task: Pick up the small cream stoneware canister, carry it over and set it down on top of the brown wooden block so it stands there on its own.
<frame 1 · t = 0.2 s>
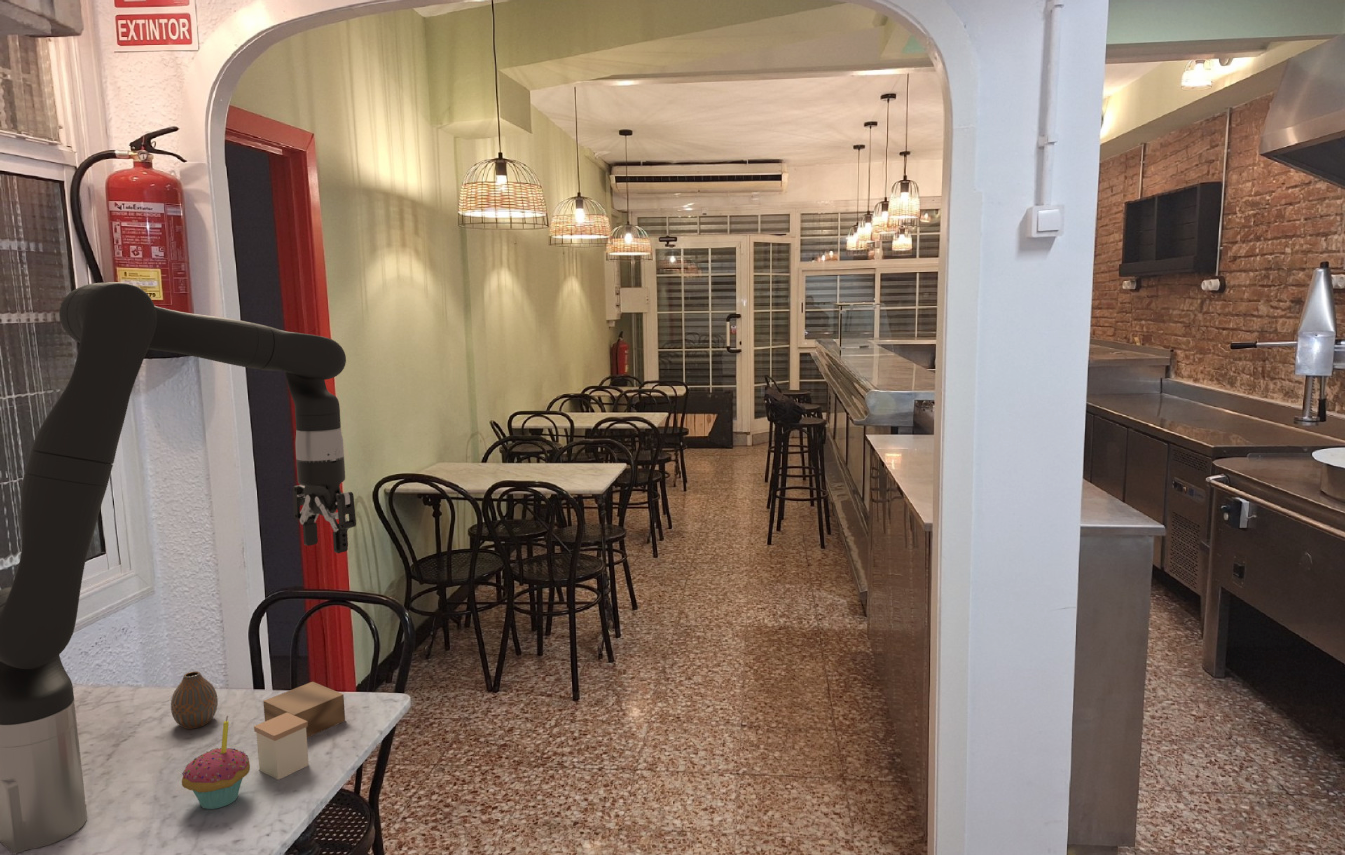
hand: (325, 548, 148), 29 cm above the table, fingers open, 8 cm apart
cupcake: (219, 801, 123), on the table
brown wooden block: (305, 725, 145), on the table
vase: (196, 724, 146), on the table
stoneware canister: (284, 767, 131), on the table
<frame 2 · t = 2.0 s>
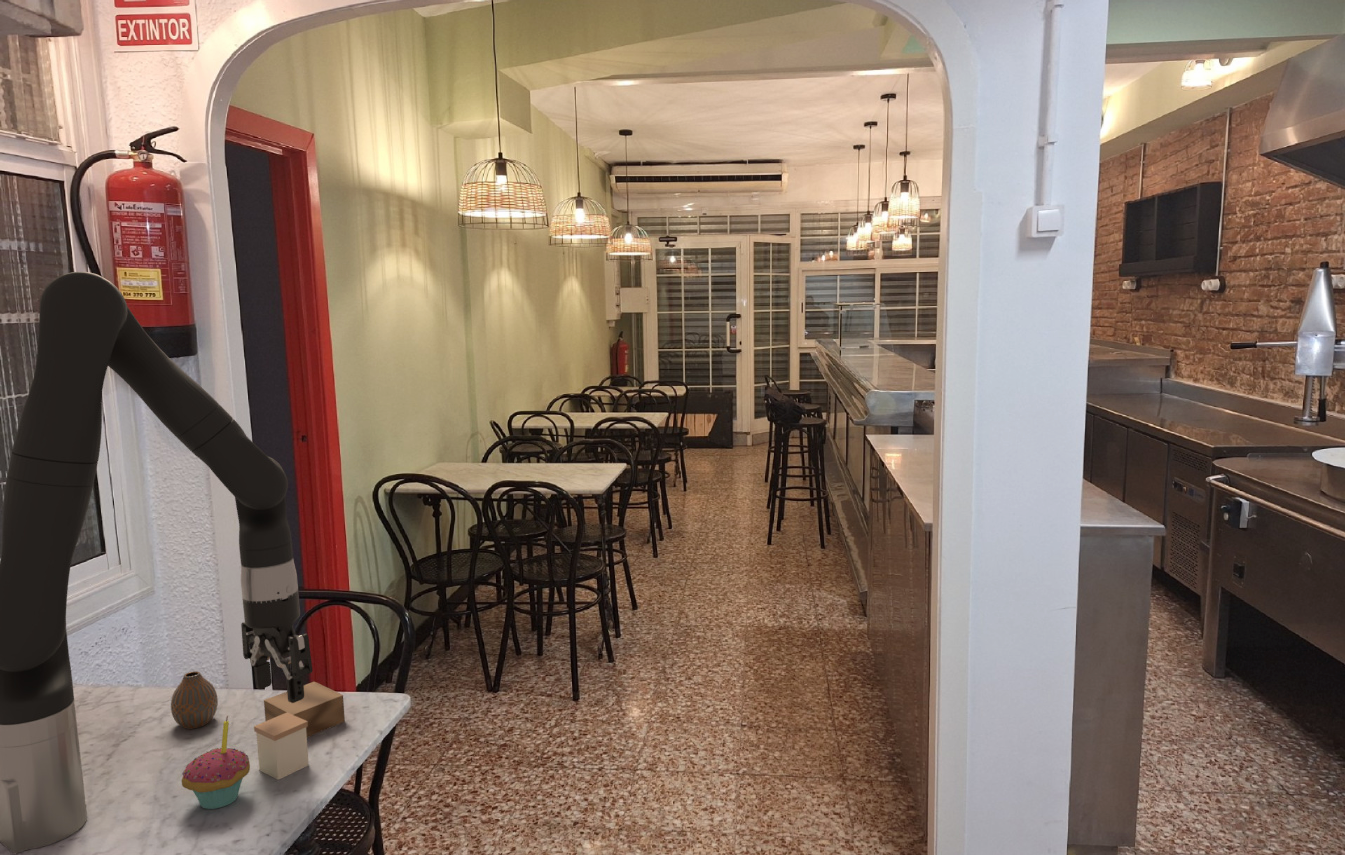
hand: (280, 693, 130), 12 cm above the table, fingers open, 8 cm apart
nothing on the table moved.
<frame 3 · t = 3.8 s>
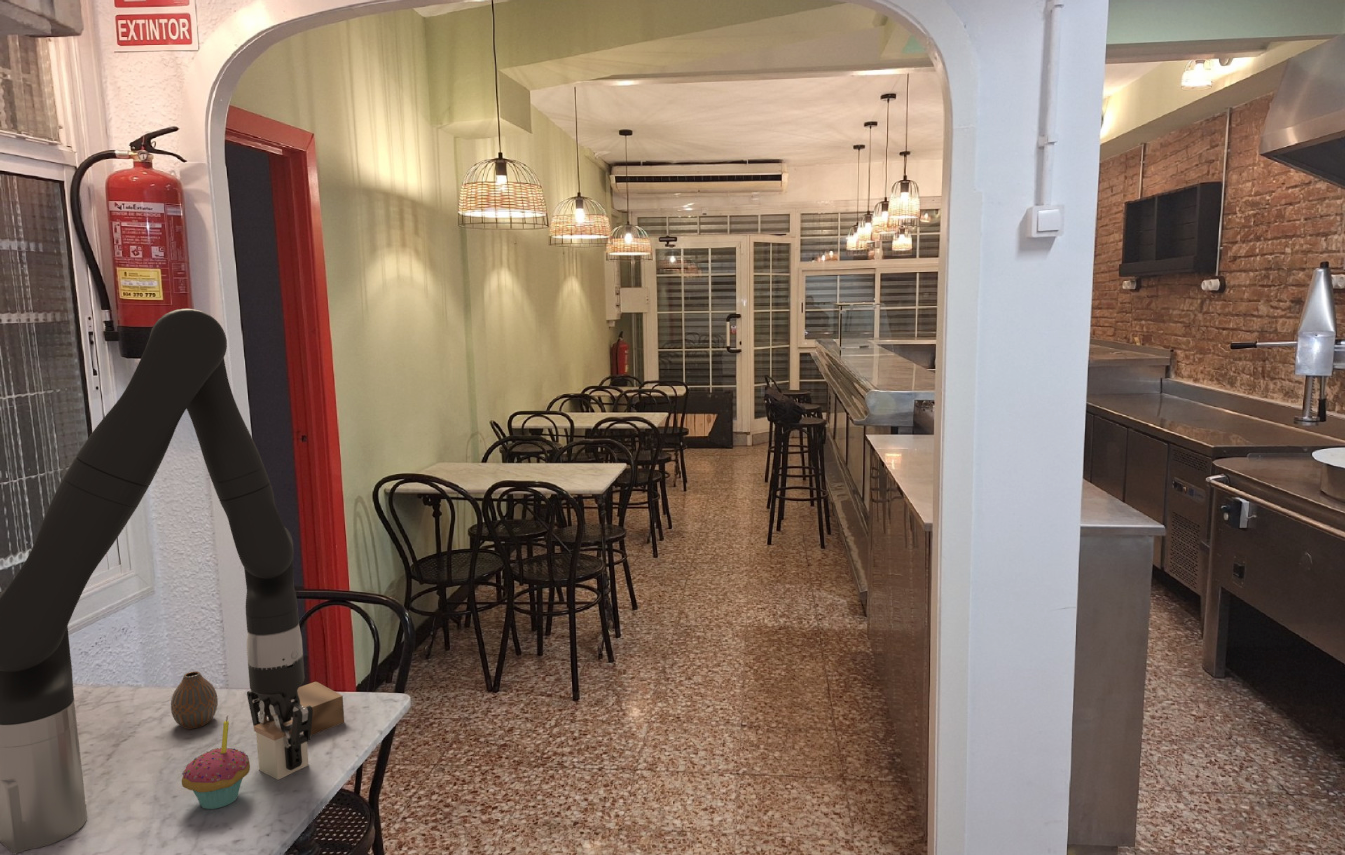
hand: (283, 761, 131), 1 cm above the table, fingers closed on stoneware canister, 5 cm apart
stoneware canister: (284, 767, 131), on the table, touching gripper
everything else where it was.
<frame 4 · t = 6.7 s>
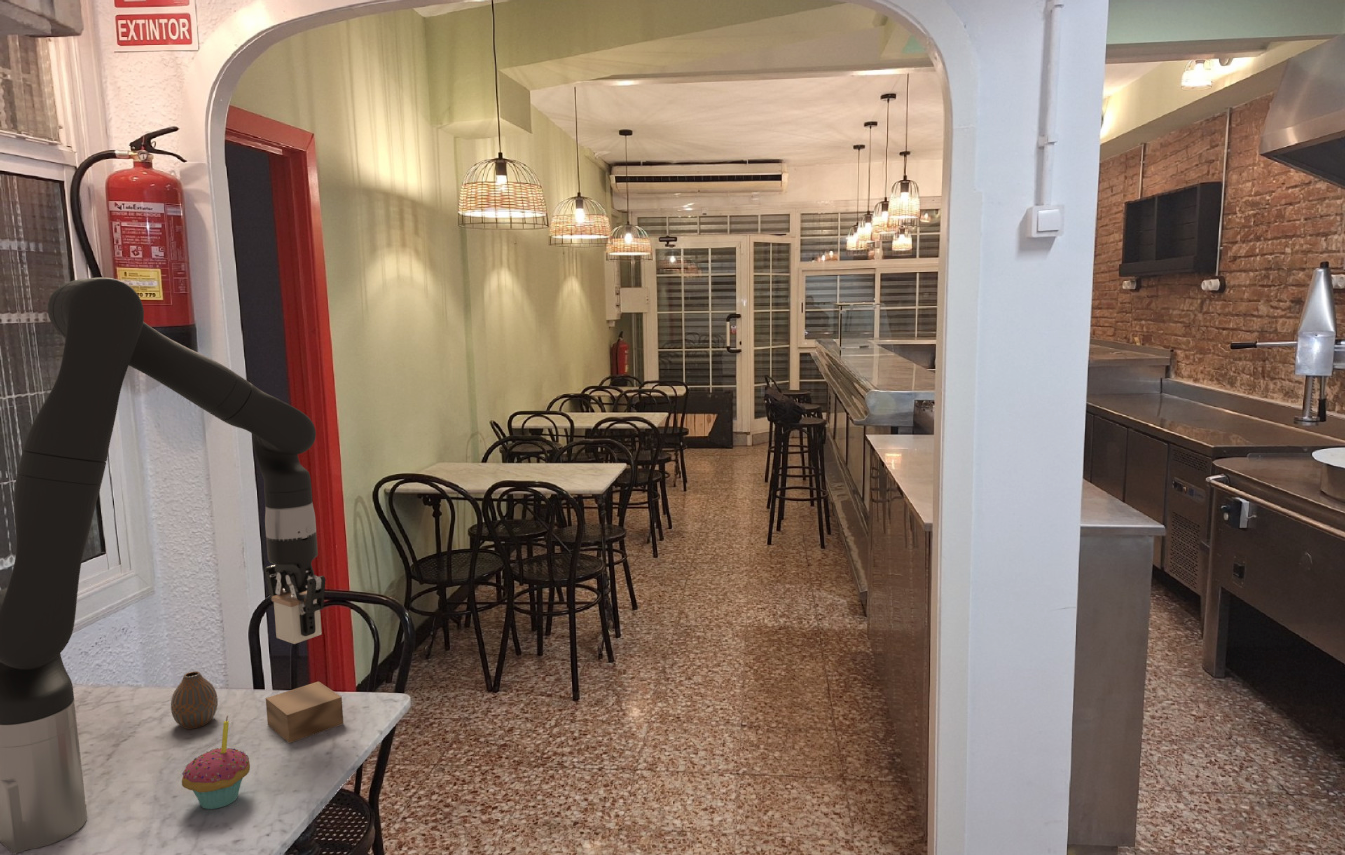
hand: (298, 630, 143), 16 cm above the table, fingers closed on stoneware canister, 5 cm apart
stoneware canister: (299, 636, 143), point 15 cm above the table, touching gripper
everything else where it was.
when the fingers open (6 cm above the table, at t = 9.7 s): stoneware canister stays where it is, resting on brown wooden block.
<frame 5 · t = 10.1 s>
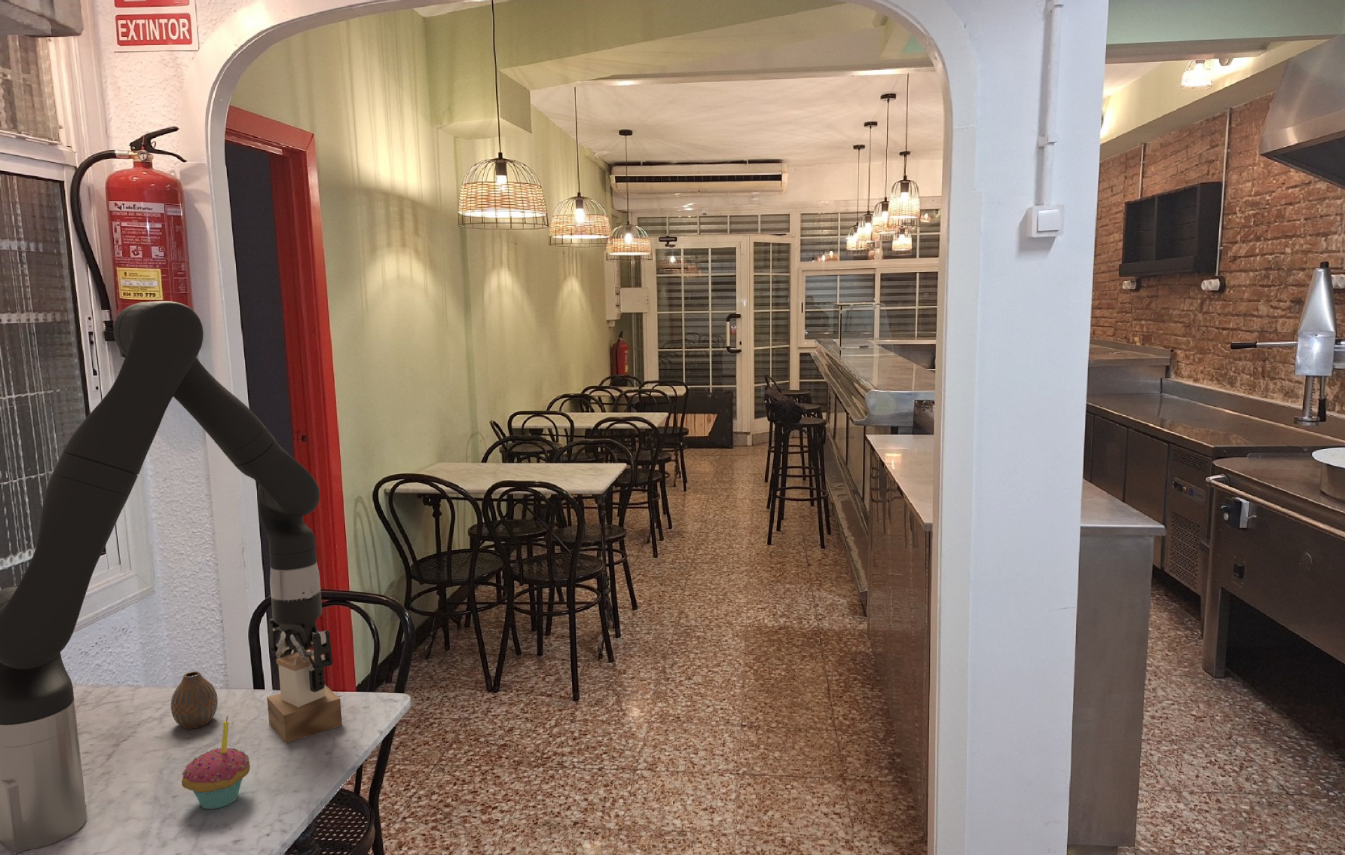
hand: (302, 684, 144), 7 cm above the table, fingers open, 8 cm apart
brown wooden block: (305, 726, 145), on the table, touching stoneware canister
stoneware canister: (303, 697, 144), point 5 cm above the table, touching brown wooden block
everything else where it was.
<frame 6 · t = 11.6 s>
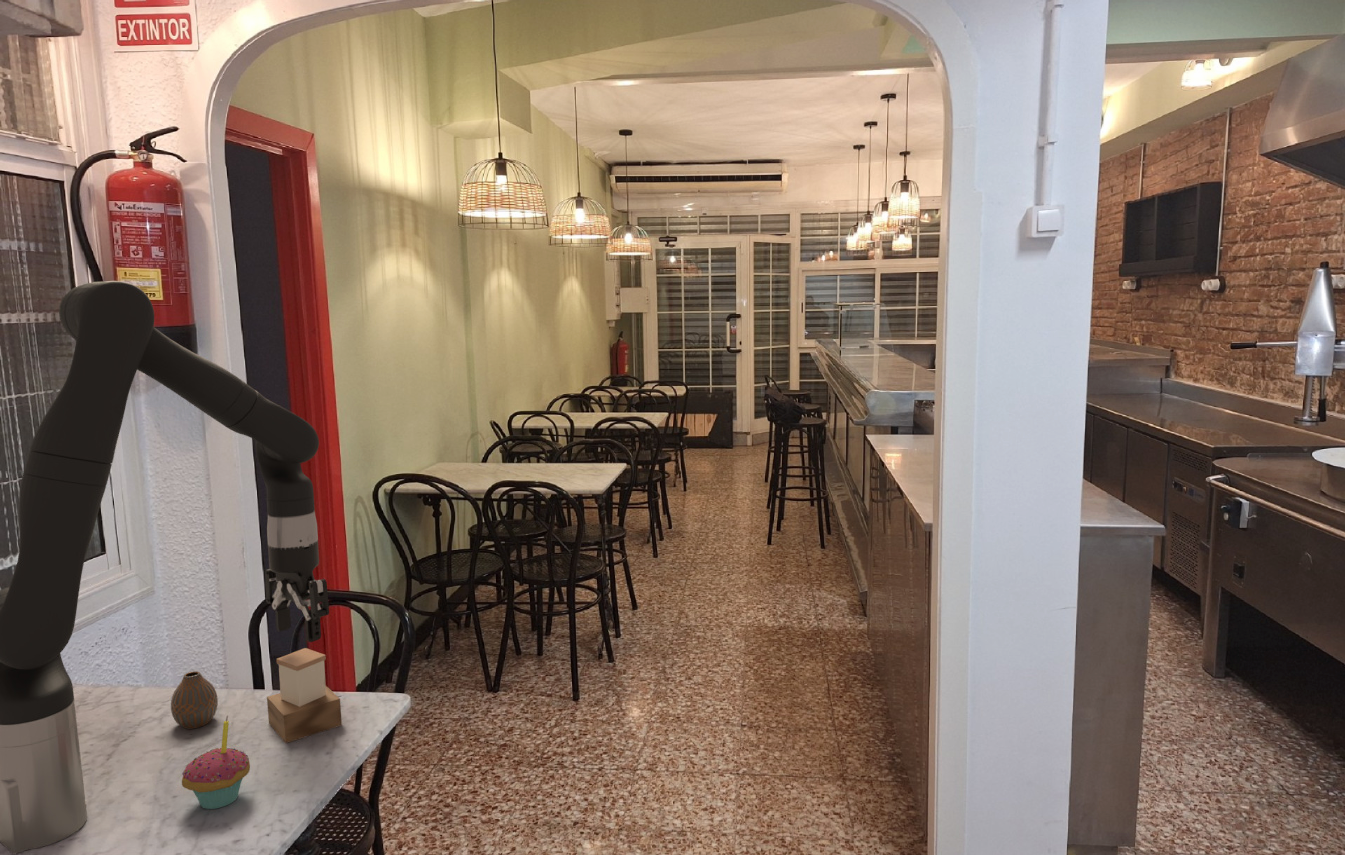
hand: (298, 635, 143), 16 cm above the table, fingers open, 8 cm apart
nothing on the table moved.
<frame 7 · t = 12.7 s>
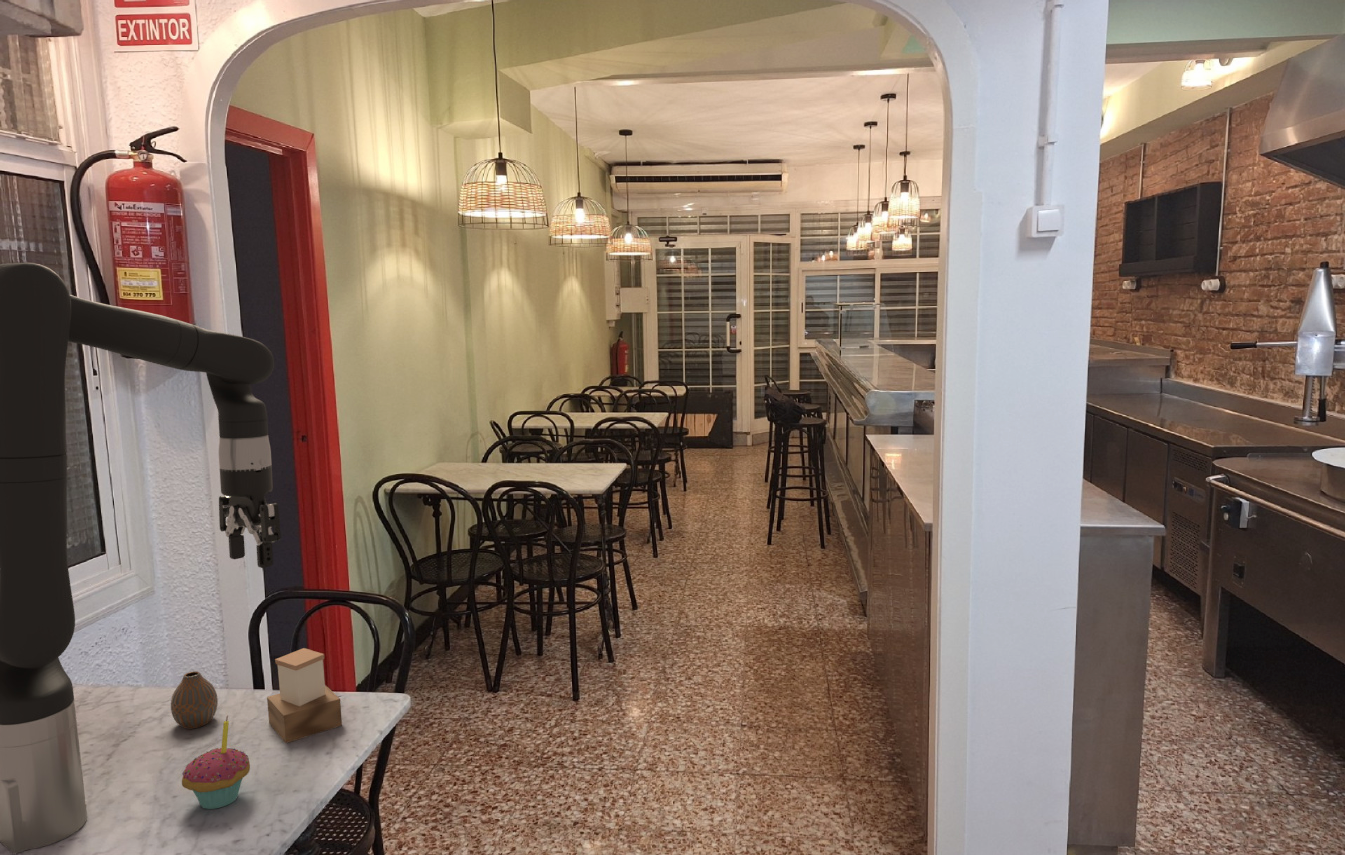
hand: (251, 562, 140), 28 cm above the table, fingers open, 8 cm apart
nothing on the table moved.
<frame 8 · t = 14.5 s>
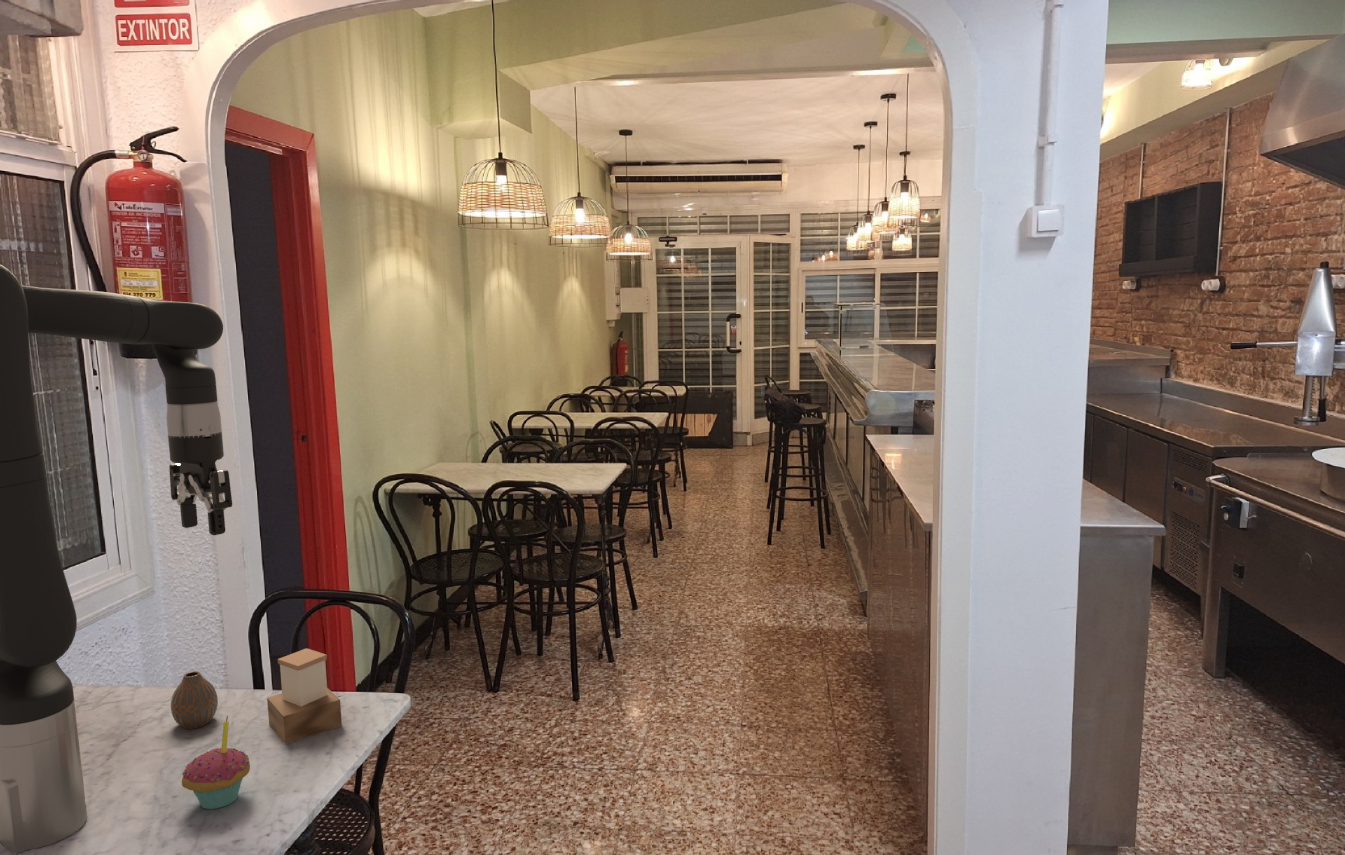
hand: (203, 530, 139), 34 cm above the table, fingers open, 8 cm apart
nothing on the table moved.
at the end: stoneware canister inside the target area on the brown wooden block (0.5 cm from its centre), point 5.0 cm above the brown wooden block's base; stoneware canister tilted 0°; the gripper is holding nothing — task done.
